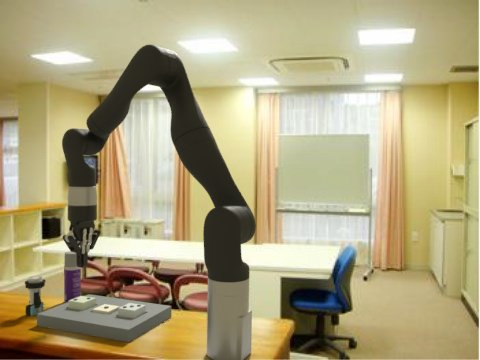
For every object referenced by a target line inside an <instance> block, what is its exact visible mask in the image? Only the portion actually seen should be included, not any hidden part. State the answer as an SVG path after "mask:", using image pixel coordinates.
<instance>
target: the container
mask: <svg viewBox="0 0 480 360" xmlns="http://www.w3.org/2000/svg"><path fill="white" fill-rule="evenodd" d="M76 259H77V255H76V253H75V252H71V251H70V250H69V251H65V252H64V268H63V273H64V276H63V277H64V278H63V279H64V281H63V282H64V284H63V287H64V289H63V292H64V293H63V294H64V295H63V296H64V297H63V298H64V299H63V300H64V301H63V302H64V303H63V304H65V303H67V302H68V301H69V300H71V299H74V298H77V297H79V296H82V293H81V292H82V286H81V285H82V284H81V282H82V281H81V280H82V277H81V276H82V271H81V270H82V268H81V267H77V264H76V262H77V261H76Z"/></svg>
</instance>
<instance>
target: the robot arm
mask: <svg viewBox="0 0 480 360" xmlns="http://www.w3.org/2000/svg"><path fill="white" fill-rule="evenodd" d="M148 85H149V86H155V87H158V88H160V89H161V91H162V92H163V94H164V96H165V98H166V100H167V102H168V105H169V108H170V139H171V141H172V144H173V146H174V148H175V150H176V153H177V155H178V157H179V159H180V162H181V163H182V164H183V166H184V168H185V169H186V170H187V171H188V173H189V174H190V175H191V176H192V177H193V179H195V180H196V181H197V182H198V183H199V184H200V186H202V188H203V189H204V190H205V192H206V193H207V194H208V196H209V197H210V200H211V202H212V205H213V206H214V207H213V208H212V209H210V210H209V211H208V212H207V214H206V216H205V218H204V223H203V231H202V232H203V235H202V236H203V239H202V240H203V258H204V265H205V268H206V269H207V303H206V304H207V305H206V307H207V308H206V309H207V310H206V354H207V357H208V358H209V359H211V360H245V359H246V358H247V357H248V356H249V355H250V354H251V353H252V336H253V335H252V332H253V329H252V327H253V321H252V320H253V310H251V309H250V308H249V307H250V266H249V264H248V263H247V262H244V260H243V258H242V245H243V244H246V243H248V242H250V241H251V240H252V239H253V237H254V236H255V234H256V225H257V223H256V218H255V216H254V213H253V211H252V209H251V208H250V206H249V204H248V203H247V201H246V199H245V198H244V196H243V194H242V193H241V191H240V189H239V187H238V186H237V184H236V182H235V180H234V179H233V177H232V174H231V172H230V169H229V168H228V166H227V164H226V161H225V159H224V158H223V157H224V156H222V153H221V151H220V148H219V146H218V143H217V141H216V139H215V137H214V135H213V133H212V130H211V128H210V127H209V125H208V122H207V120H206V118H205V116H204V113H203V112H202V109H201V107H200V105H199V102H198V100H197V98H196V97H195V94H194V91H193V88H192V85H191V83H190V79H189V76H188V73H187V71H186V67H185V65H184V62H183V61H182V59H181V57H180V56H179V54H177V53H176V51H173V50H171V49H168V48H165V47H162V46H159V45H155V44H146V45H143V46H141V48H139V49H138V50H137V51H136V53H134V55H133V57H132V58H131V60H130V61H129V62H128V64H127V66H126V68H125V69H124V70H123V72H122V73H121V75H120V77H119V78H118V79H117V81H116V82H115V84H114V86H113V87H112V89H111V91H110V92H109V93H108V95H107V96H106V97H105V98H104V100H102V102H101V103H100V104H98V106H97V107H96V108H95V109H94V110H93V111H92V112H91V113H90V114H89V116H88V117H87V119H86V127H87V129H85V128H74V127H73V128H68V129H67V130H66V131H65V132H64V133H63V136H62V141H61V145H62V146H61V147H62V151H63V154H64V155H63V156H64V158H65V164H66V166H67V170H68V190H67V220H68V221H69V229H68V232H67V234H63V235H62V240H63V242H64V243H65V245H66V246H67V248H68V249H69V251H71V252H75V253H76V255H77V259H76V261H77V262H76V264H77V267H81V269H83V268H86V267H87V266H88V263H89V262H88V261H89V259H88V256H89V255H88V253H90V251H91V250H94V248H95V245H96V244H97V241H98V239H99V237H100V235H101V230H99V229H97V228H96V225H95V224H96V223H95V221H97V219H98V194H97V193H98V191H97V169H96V167H95V166H94V165H93V164H88V163H87V162H86V159H85V157H84V156H94V155H97V154H98V153H100V152H101V151H102V150H103V149H104V147H105V146H106V144H107V141H108V139H109V137H110V136H111V134H112V133H113V132H114V131H115V130H116V129H117V128H118V127H119V126H120V125H122V123H123V122H124V120H125V119H126V118H127V116H128V114H129V112H130V108H131V103H132V100H133V99H134V97H135V95H136V94H138V92H139V91H141V90H142V89H143V88H145V87H146V86H148Z"/></svg>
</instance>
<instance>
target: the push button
mask: <svg viewBox="0 0 480 360" xmlns="http://www.w3.org/2000/svg"><path fill="white" fill-rule="evenodd" d="M45 283H46V279H43V276H41V275H39V276H38V275H37V276H36V275H35V276H30V277H28V278H27V280H25V281H24V285H25V289H28V290H29V299H28V305H25V316H29V317H35V316H37V314H38V313H41V312H44V309H45V308H46V306H44V305H46V303H44V302H43V301H42V298H41V297H42V296H41V295H42V292H41V289H43V288H44V287H45V285H46V284H45Z"/></svg>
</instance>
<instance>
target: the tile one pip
mask: <svg viewBox="0 0 480 360" xmlns="http://www.w3.org/2000/svg"><path fill="white" fill-rule="evenodd" d="M119 307H120V306H114V305H108V304H104V305H101V306H99V307H97V308H94V309H93V312H94V313H101V314H107V315H109V314H111V313H114V312H116V311H118V308H119Z"/></svg>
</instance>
